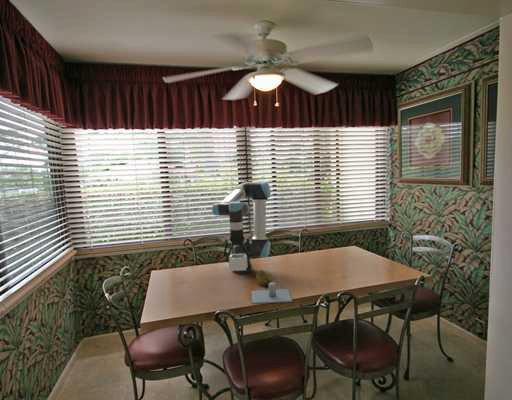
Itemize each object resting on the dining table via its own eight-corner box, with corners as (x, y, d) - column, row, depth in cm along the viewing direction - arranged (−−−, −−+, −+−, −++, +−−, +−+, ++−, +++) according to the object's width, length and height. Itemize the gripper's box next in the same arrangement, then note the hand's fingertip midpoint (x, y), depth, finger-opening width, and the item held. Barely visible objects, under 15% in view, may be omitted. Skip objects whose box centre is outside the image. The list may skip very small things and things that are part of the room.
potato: (259, 288, 181) (259, 276, 180) (255, 281, 194) (255, 269, 193) (272, 287, 183) (272, 274, 182) (267, 279, 195) (267, 268, 194)
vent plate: (251, 291, 177) (251, 279, 176) (287, 289, 178) (287, 277, 177) (252, 303, 161) (251, 290, 160) (292, 301, 162) (291, 288, 161)
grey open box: (231, 265, 175) (230, 254, 174) (246, 265, 175) (245, 253, 174) (230, 270, 166) (229, 258, 165) (246, 270, 166) (245, 258, 165)
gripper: (216, 231, 164) (219, 270, 166) (255, 229, 164) (257, 268, 167) (218, 228, 171) (220, 266, 174) (255, 226, 172) (257, 264, 174)
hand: (238, 267), depth 170 cm, fingers closed on grey open box, 9 cm apart
